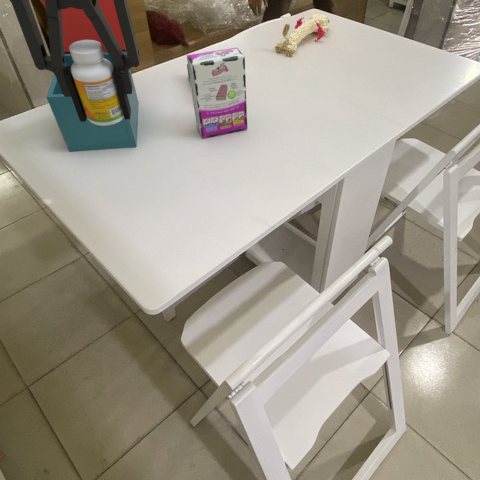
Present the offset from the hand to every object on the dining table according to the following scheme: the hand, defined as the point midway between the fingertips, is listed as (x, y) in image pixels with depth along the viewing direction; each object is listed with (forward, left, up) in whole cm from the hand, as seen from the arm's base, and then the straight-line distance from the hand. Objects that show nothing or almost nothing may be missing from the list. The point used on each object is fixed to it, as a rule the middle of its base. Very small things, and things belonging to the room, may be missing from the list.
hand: (106, 115), depth 58 cm
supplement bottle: (0, 0, -1) cm, 1 cm away
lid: (-28, +33, +2) cm, 44 cm away
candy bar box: (+2, +33, -20) cm, 39 cm away
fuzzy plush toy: (+6, +89, -20) cm, 91 cm away
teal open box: (-23, +24, -20) cm, 39 cm away
